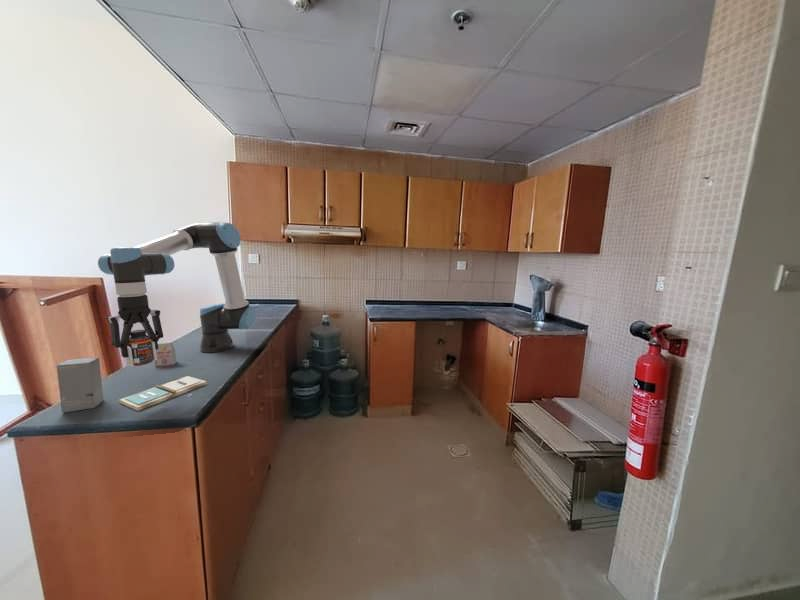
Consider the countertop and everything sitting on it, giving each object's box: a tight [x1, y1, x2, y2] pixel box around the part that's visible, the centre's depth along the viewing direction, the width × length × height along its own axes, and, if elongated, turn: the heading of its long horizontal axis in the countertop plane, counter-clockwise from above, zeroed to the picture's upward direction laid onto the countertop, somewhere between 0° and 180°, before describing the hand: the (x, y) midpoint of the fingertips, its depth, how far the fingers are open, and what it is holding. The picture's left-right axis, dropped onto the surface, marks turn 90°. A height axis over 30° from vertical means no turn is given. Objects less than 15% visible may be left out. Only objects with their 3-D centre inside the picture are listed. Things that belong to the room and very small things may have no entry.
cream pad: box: [161, 376, 201, 391], centre depth 115 cm, size 9×9×1 cm
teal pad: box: [124, 387, 169, 405], centre depth 106 cm, size 9×9×1 cm
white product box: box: [154, 342, 178, 368], centre depth 138 cm, size 4×7×10 cm, turn 107°
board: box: [118, 375, 208, 412], centre depth 110 cm, size 22×12×2 cm, turn 153°
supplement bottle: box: [128, 329, 154, 367], centre depth 103 cm, size 6×6×11 cm
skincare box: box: [56, 357, 104, 414], centre depth 101 cm, size 8×7×16 cm
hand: (142, 362), depth 104 cm, fingers closed on supplement bottle, 6 cm apart
